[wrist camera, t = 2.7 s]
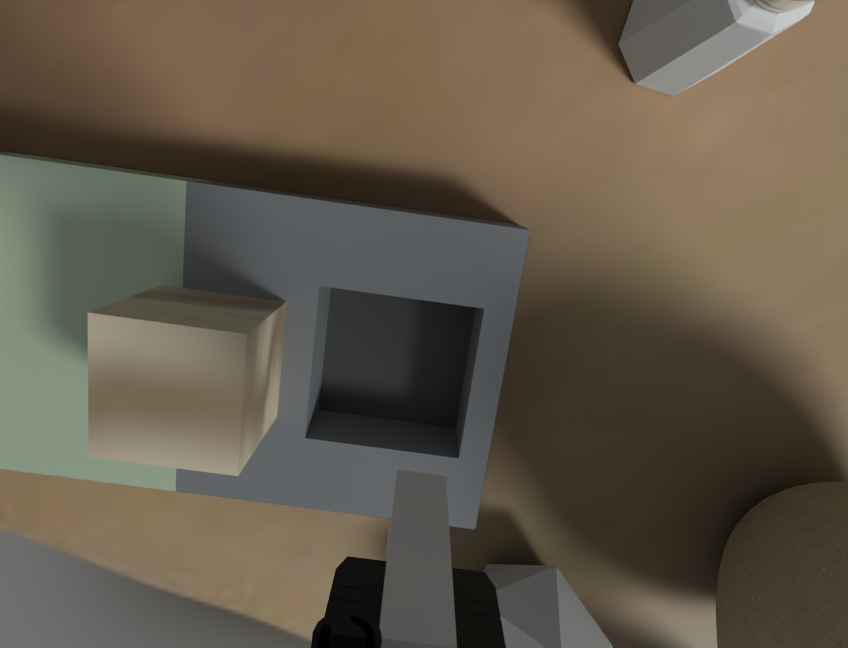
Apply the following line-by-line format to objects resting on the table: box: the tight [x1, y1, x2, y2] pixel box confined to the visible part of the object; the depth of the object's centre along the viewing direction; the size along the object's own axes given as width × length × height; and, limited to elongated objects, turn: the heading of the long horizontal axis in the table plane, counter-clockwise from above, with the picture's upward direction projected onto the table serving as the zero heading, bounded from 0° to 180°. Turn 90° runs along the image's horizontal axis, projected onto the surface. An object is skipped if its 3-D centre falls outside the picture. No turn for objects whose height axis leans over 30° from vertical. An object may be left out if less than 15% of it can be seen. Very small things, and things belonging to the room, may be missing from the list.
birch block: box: [88, 285, 286, 476], centre depth 25 cm, size 6×6×6 cm
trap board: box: [0, 151, 530, 529], centre depth 29 cm, size 16×37×4 cm, turn 82°
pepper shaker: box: [618, 0, 815, 96], centre depth 22 cm, size 5×5×11 cm
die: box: [483, 564, 613, 648], centre depth 32 cm, size 8×9×10 cm
